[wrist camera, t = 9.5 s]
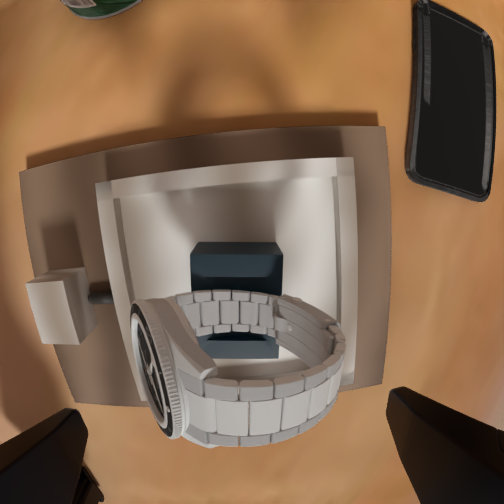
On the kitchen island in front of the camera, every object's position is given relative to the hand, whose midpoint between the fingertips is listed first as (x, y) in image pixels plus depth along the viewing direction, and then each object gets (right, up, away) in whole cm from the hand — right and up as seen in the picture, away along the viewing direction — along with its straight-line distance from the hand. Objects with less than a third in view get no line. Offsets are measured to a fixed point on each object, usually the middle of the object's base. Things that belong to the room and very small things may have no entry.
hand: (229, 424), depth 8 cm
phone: (+15, +16, +11) cm, 25 cm away
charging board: (-2, +3, +13) cm, 13 cm away
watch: (0, +2, +11) cm, 11 cm away
